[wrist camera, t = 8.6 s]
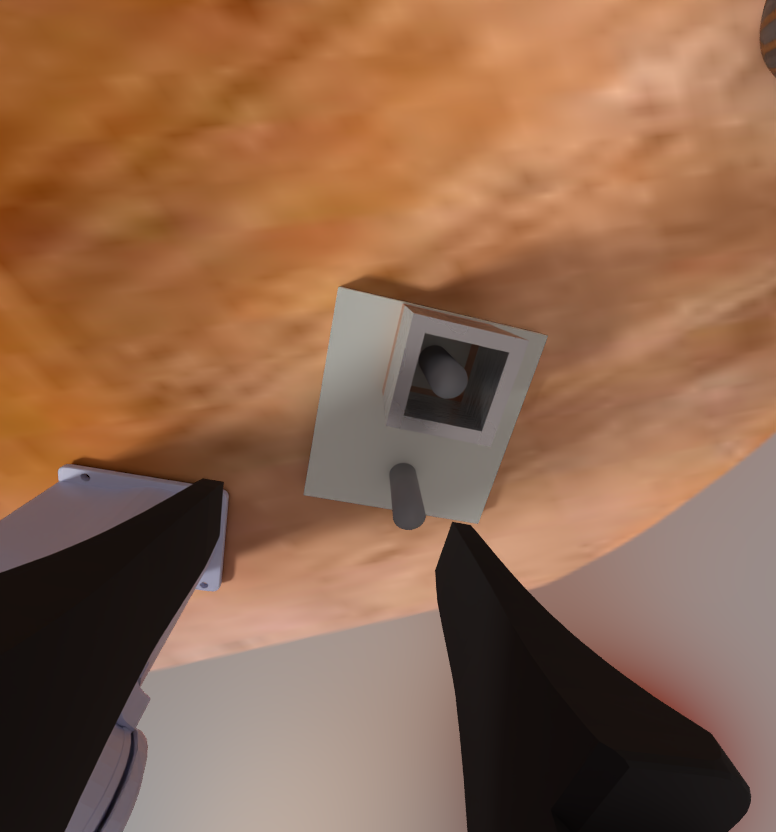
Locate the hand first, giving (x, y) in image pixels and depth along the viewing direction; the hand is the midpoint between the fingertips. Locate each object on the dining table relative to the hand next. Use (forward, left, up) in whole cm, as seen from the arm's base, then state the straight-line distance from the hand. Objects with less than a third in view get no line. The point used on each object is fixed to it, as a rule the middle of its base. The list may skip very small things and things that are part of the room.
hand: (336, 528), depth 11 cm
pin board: (+4, +1, -10) cm, 11 cm away
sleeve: (+4, +4, -9) cm, 11 cm away
